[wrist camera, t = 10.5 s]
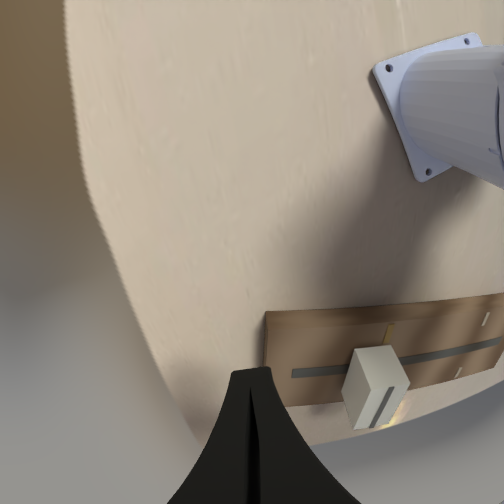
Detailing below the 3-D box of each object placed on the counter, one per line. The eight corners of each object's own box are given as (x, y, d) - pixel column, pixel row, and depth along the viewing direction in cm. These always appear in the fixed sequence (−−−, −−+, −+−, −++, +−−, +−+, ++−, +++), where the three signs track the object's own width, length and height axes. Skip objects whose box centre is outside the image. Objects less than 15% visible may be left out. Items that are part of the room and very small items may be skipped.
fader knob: (390, 344, 22) (410, 384, 18) (373, 386, 24) (388, 424, 20) (354, 348, 22) (371, 391, 18) (341, 391, 24) (353, 431, 20)
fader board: (517, 290, 24) (528, 302, 22) (485, 356, 28) (494, 368, 26) (265, 311, 22) (268, 330, 21) (261, 390, 27) (263, 408, 25)
